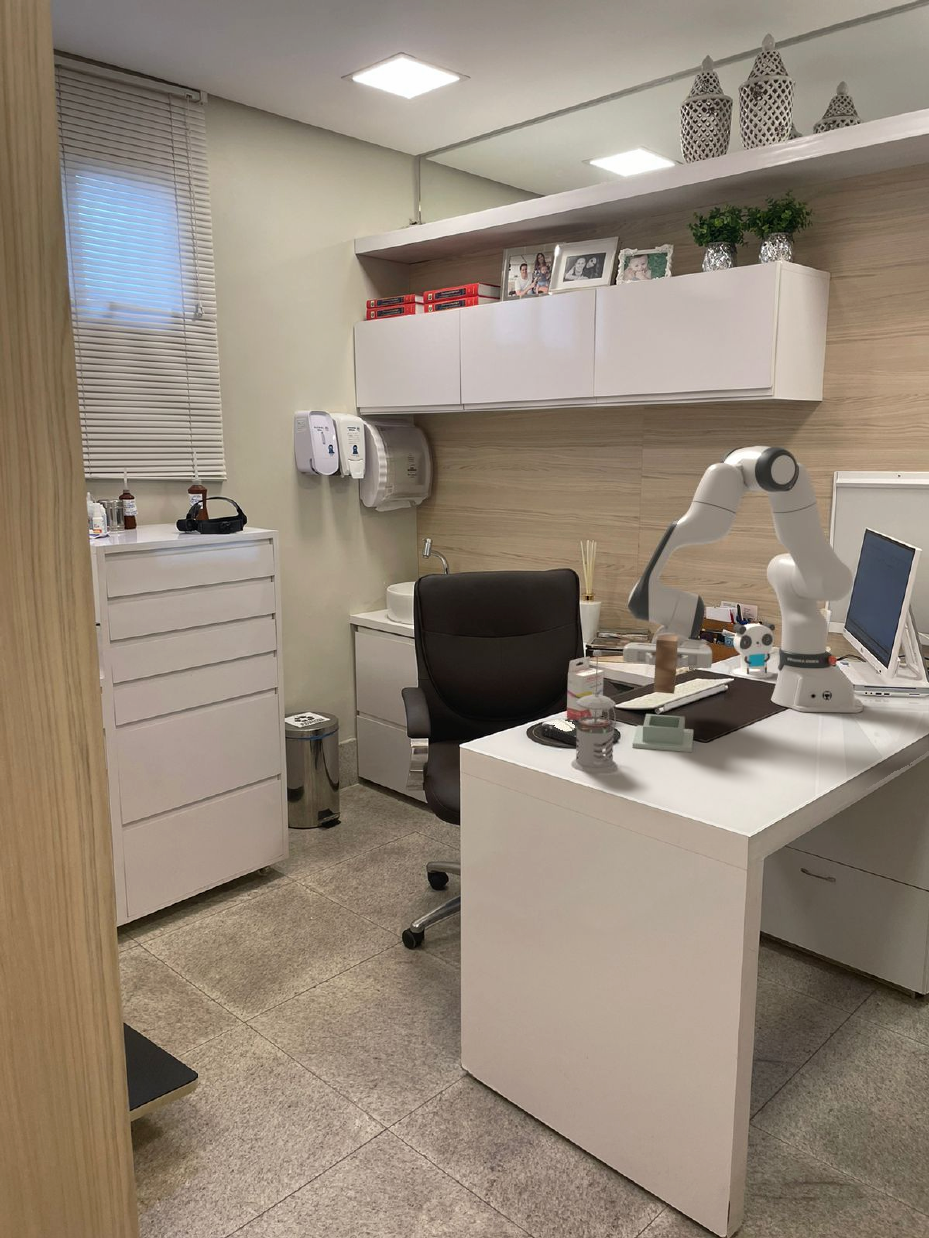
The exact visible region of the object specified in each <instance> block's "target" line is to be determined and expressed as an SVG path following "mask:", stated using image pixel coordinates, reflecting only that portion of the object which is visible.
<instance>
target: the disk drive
mask: <svg viewBox="0 0 929 1238" xmlns="http://www.w3.org/2000/svg"><path fill="white" fill-rule="evenodd" d="M564 720H565V721H568V722H572V724H574V725H575V728H574V730H572V731H563V730H560V729H558V728H556V727H554V726H555V725H552V724H550V723H549V724H543V725H542V726H541V736H544V737H547V736H549V737H548V738H550V737H553V738H555V739H554V740H556V739H560V740H562V741H566V742H568V743H567V744H569V743H570V745H572V746H575V747H576V745H577V743H576V741H577V742H578V740H579V739H578V740H577V726H578V725H580V723H579V720H576V719H572V718H566V719H564ZM605 730H606V727H603V733H604V732H605ZM580 731H588V732H591V733H592V730H591V729H588V728H582V729H581V730H580ZM553 738H552V739H553ZM562 741H561V742H562ZM615 742H618V734H617V732H615V731H614V734H613V743H615ZM604 745H606V742H605V743H603V746H604ZM577 747H578V745H577Z"/></svg>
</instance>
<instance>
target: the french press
mask: <svg viewBox="0 0 929 1238" xmlns="http://www.w3.org/2000/svg"><path fill="white" fill-rule="evenodd" d="M602 654H603V653H602V651H601V650H600V649H596V650H593V652H592V656H593V657H596V668H595V669H596V694H593V695H588V696H585V697H582V698H580V699H579V700H578V701H577V704H578V705H579V706H580V707H582V708H585V709H591V710H595V716H590V717H589V716H588V717H582V718H580V719H579V723H580V725H578V726H577V740H578V739H579V740H578V742H577V741H576V743H577V745H578V747H577V745H576V746H575V747H576V749H575V759H573V760H572V761H571V764H570V765H571V767H572V768H574V769H575V770H578V771H581V772H585V773H589V774H590V773H593V774H596V773H597V774H602V773H603V774H604V773H609V772H612V771H615V770H616V769H617V768H618V764H617V763H616V762H615V761H614V755H613V753H614V748H613V747H614V742H613V734H614V732H615V728H616V718H617V717H616V712H615V709H614V708H615V706H616V702H615V701H614V700H613V699H611V697H609V696H606V695H604V694H603V695H598V694H597V670H598V668H599V667H598V666H599V665H598V662H599V661H598V659H599V658H598V657H603V656H602ZM610 709H612V711H613V714H614V720H612V719H610ZM596 710H602V712H605V713H607V717H605V716H603V717H602V716H599V717H598V716H596ZM611 725H613V726H611ZM582 728H588V729H591V730H592V733H591V732H588V731H580V730H581V729H582ZM603 728H606V730H605V732H604V733H603ZM605 742H606V745H603V743H605ZM604 749H605V750H604ZM603 750H604V751H603Z"/></svg>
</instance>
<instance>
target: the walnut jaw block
mask: <svg viewBox="0 0 929 1238" xmlns="http://www.w3.org/2000/svg"><path fill="white" fill-rule="evenodd" d="M677 647H678V636H668V635H658V637H657V641H656V658H655V665H654V676H653V677H654V679H653V693H662V694H670V695H671V694H675V689H676V680H677V679H676V678H677V675H676V674H677V668H676V659H677Z"/></svg>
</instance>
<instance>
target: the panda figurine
mask: <svg viewBox="0 0 929 1238" xmlns="http://www.w3.org/2000/svg"><path fill="white" fill-rule="evenodd" d="M775 629H776V626H775V625H774V624H773V623H770V622H766V621H765V622H763V623H762V624H760V623H748V624H744V625H742V624H739V623H736V624H734V626H733V628H732V630H733V632H734V633H735V635H734V637H733V647H734V650H735V651H736V652H737V653H739V655H740V667H738V668H734V669H733V670H732V673H733V675H736V676H738V677H743V678H748V679H750V678H752V679H767V678H770V677H772V676H773V675H774V674H773V672H772V671H770V670H768V661H770V659H771V655H770V652H771V651H772V649H773V647H774V641H775V640H774V634H773V631H775Z"/></svg>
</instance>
